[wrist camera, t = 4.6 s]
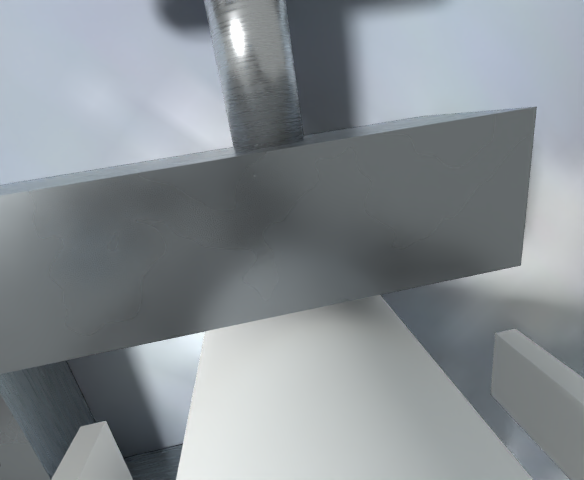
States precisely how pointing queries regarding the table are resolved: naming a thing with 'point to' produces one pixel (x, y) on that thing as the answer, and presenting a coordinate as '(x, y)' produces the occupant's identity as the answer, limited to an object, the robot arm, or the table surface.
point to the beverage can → (333, 404)
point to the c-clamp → (239, 233)
